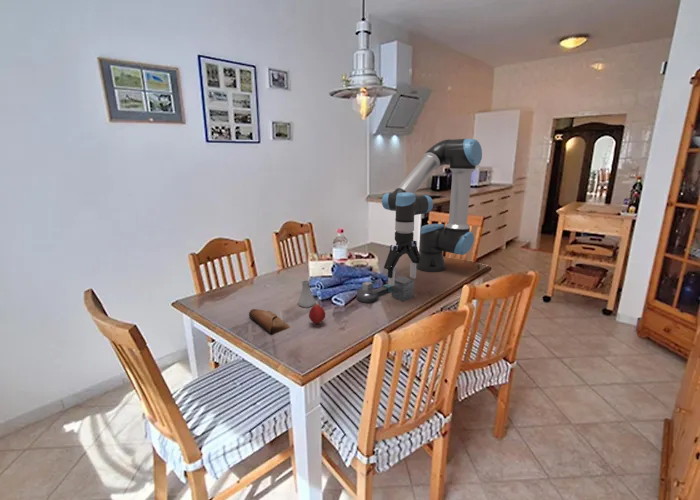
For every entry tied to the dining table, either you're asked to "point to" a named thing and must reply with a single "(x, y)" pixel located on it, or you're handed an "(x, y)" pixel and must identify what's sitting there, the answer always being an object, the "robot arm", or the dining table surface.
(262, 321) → the sunglasses case
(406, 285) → the rounded charcoal cube
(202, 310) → the dining table surface
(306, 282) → the flask
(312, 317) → the onion
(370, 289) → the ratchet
